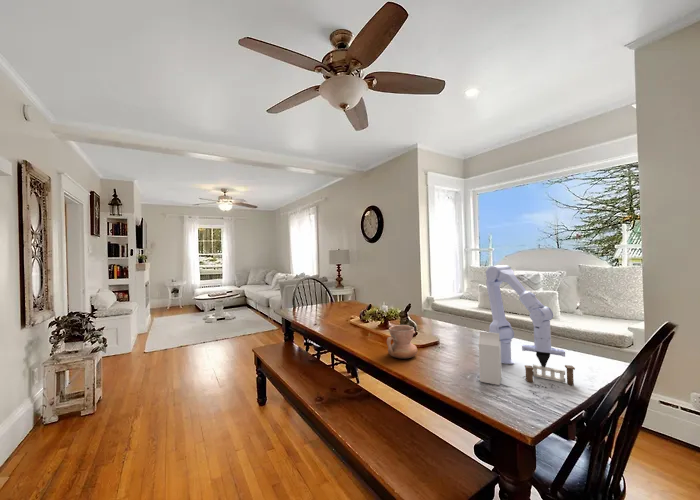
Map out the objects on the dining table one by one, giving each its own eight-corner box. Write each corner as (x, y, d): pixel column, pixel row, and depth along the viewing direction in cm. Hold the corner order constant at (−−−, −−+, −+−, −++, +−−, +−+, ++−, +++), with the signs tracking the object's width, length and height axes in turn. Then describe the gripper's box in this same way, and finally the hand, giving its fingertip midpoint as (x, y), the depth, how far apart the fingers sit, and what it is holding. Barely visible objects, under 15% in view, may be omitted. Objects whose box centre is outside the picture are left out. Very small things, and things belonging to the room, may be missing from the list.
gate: (565, 381, 115) (565, 370, 115) (565, 382, 114) (564, 371, 114) (533, 375, 122) (533, 364, 122) (533, 376, 121) (532, 365, 121)
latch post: (526, 382, 116) (526, 367, 116) (525, 379, 118) (524, 365, 118) (534, 382, 115) (533, 368, 115) (532, 379, 118) (531, 365, 118)
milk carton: (499, 385, 114) (498, 335, 114) (479, 381, 118) (478, 333, 118) (501, 378, 120) (500, 331, 120) (482, 375, 124) (481, 329, 124)
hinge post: (568, 385, 112) (567, 367, 113) (565, 382, 115) (564, 365, 115) (575, 385, 112) (574, 368, 112) (572, 382, 114) (572, 365, 114)
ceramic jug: (405, 348, 160) (404, 322, 160) (425, 356, 147) (424, 327, 147) (378, 356, 150) (377, 328, 150) (397, 365, 138) (396, 334, 138)
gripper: (564, 337, 120) (566, 371, 119) (523, 332, 128) (524, 364, 128) (564, 341, 114) (565, 377, 114) (520, 336, 123) (522, 369, 123)
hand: (543, 371), depth 121 cm, fingers closed, pressing on gate
